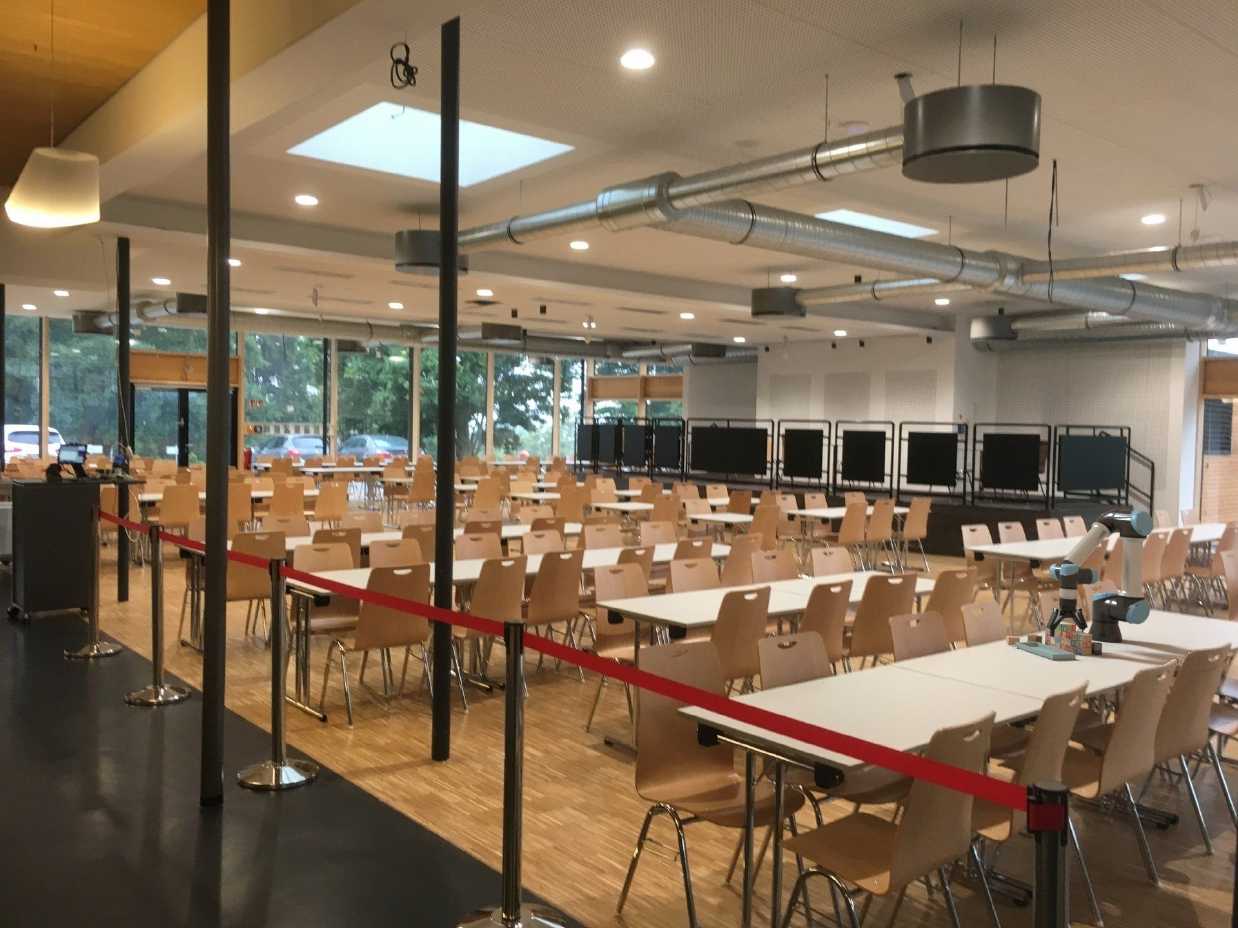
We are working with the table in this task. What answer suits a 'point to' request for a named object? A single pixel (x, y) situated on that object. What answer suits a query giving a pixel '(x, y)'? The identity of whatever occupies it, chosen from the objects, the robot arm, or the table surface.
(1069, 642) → the stack of blocks
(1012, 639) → the terracotta block
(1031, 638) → the walnut cube
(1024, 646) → the tray
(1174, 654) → the table surface
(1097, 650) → the metal cylinder
